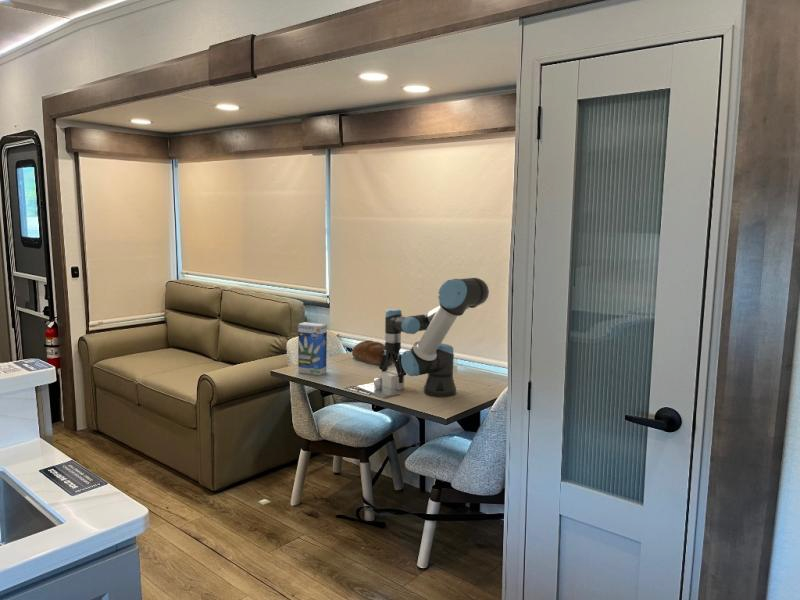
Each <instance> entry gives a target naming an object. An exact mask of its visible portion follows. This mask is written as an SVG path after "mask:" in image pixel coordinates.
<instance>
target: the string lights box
mask: <svg viewBox="0 0 800 600" xmlns="http://www.w3.org/2000/svg"><path fill="white" fill-rule="evenodd" d="M327 330H328V324H326V323H318V322H308V321H304V322H300V323H298V333H297V334H298V335H297V336H298V337H297V338H298V345H297V346H298V347H297V348H298V357H297V358H298V360H297V361H298V365H297V366H298V367H297V369H298V370H297V371H298V373H300V374H308V375H315V376H321V375H324V374H326V373H327V356H328V355H327V348H328V347H327V344H328V342H327V341H328V339H327V338H328V337H327V335H328V331H327Z"/></svg>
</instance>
